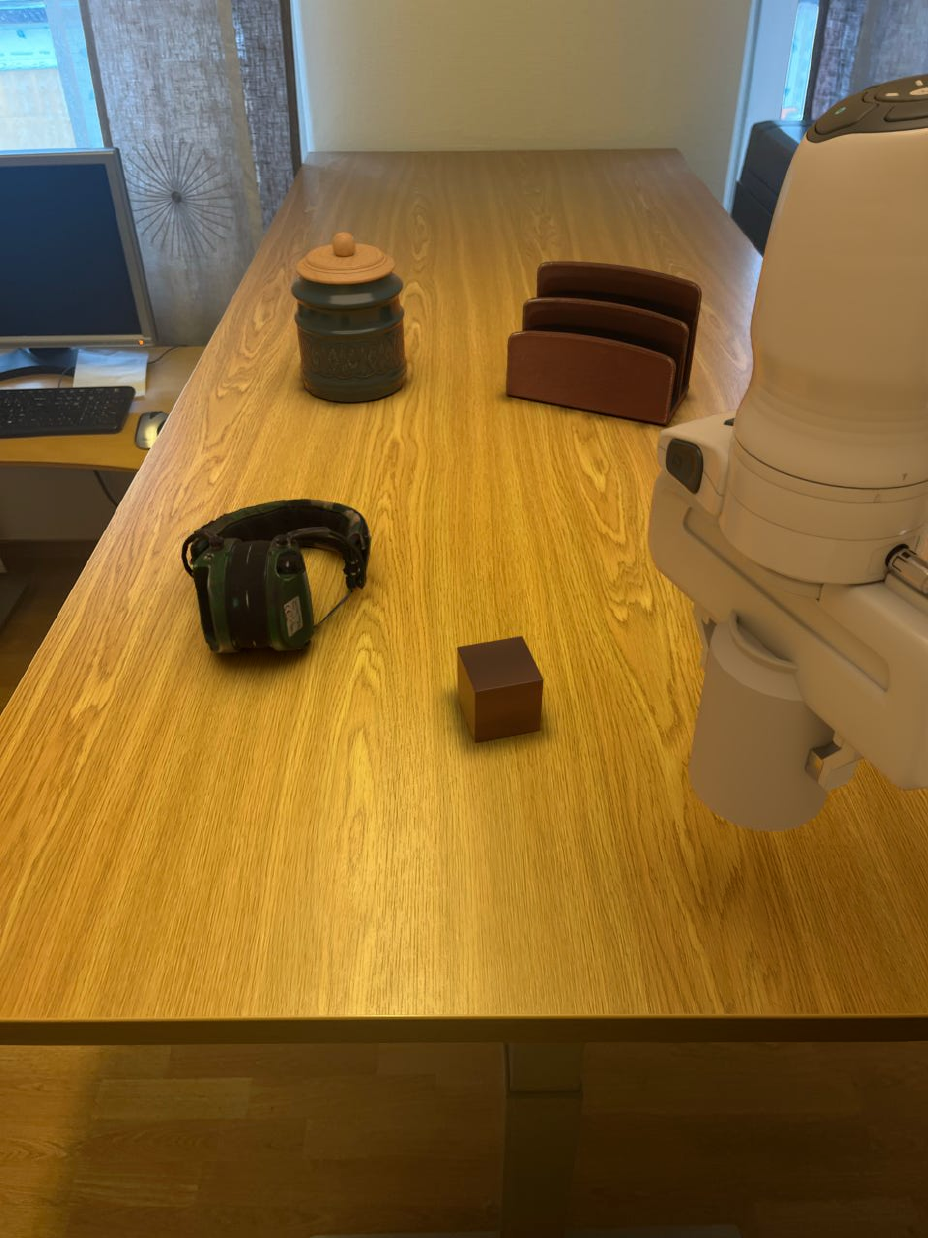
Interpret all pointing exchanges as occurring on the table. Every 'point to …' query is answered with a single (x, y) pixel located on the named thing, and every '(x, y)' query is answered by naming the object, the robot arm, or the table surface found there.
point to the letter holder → (606, 340)
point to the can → (754, 737)
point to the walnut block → (499, 688)
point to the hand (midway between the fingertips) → (769, 722)
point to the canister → (349, 322)
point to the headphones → (270, 570)
